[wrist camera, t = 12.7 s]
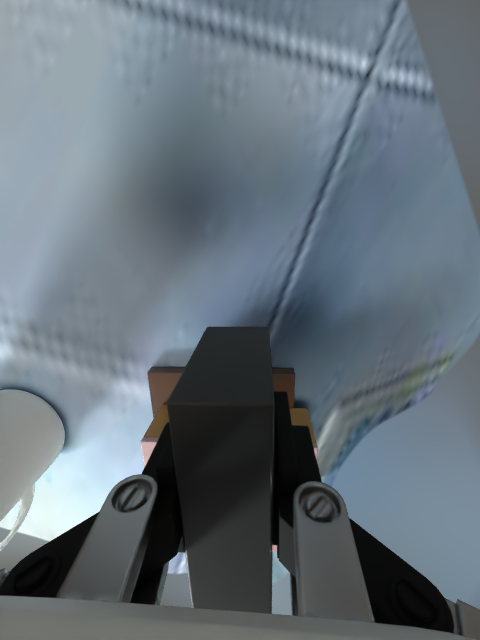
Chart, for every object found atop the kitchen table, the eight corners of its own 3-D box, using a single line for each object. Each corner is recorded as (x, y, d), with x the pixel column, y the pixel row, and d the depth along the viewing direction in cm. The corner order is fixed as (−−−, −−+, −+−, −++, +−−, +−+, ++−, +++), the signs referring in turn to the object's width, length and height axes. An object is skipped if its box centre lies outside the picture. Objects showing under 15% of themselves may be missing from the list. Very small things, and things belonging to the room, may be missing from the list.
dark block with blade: (206, 325, 11) (164, 401, 6) (269, 325, 11) (274, 403, 6) (224, 594, 16) (208, 749, 11) (267, 597, 16) (269, 756, 11)
